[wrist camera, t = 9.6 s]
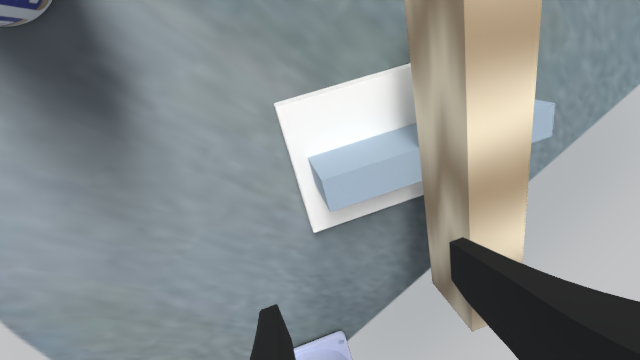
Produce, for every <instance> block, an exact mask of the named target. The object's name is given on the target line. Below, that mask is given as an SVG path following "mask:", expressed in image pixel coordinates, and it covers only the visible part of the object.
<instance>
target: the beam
mask: <svg viewBox="0 0 640 360" xmlns="http://www.w3.org/2000/svg"><path fill="white" fill-rule="evenodd" d="M404 2H405V12H406V22H407V32H408V42H409V52H410V62H411V72H412V82H413V92H414V102H415V112H416V122H417V132H418V142H419V152H420V162H421V172H422V182H423V191H424V201H425V211H426V221H427V231H428V241H429V251H430V261H431V271H432V281H433V284H434V285H435V286H436V288H437V289H438V290H439V291H440V292H441V293H442V295H443V296H444V297H445V299H446V300H447V301H448V302H449V304H450V305H451V306H452V307H453V309H454V310H455V311H456V312H457V313H458V315H459V316H460V317H461V318H462V320H463V321H464V322H465V323H466V325H467V326H468V327H469V328H470V329H471V331H475V330H477V329H480V328H482V327H484V326H487V323H486V322H485V321H484V320H483V319H482V318H481V317H480V316H479V315H478V313H477V312H476V311H475V310H474V309H473V308H472V307H471V306H470V304H469V303H468V302H467V301H466V300H465V298H464V297H463V295H462V294H461V293H460V291H459V290H458V289H457V287H456V286H455V284H454V283H453V281H452V280H451V266H450V246H449V242H451V241H454V240H456V239H459V238H462V237H464V238H466V239H468V240H471V241H473V242H475V243H477V244H479V245H482V246H484V247H486V248H488V249H490V250H492V251H495V252H497V253H499V254H501V255H503V256H506V257H508V258H510V259H512V260H515V261H517V262H519V263H522V260H523V246H524V232H525V220H526V206H527V193H528V180H529V166H530V153H531V140H532V126H533V113H534V100H535V86H536V73H537V60H538V46H539V33H540V20H541V6H542V0H404Z"/></svg>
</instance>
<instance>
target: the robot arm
mask: <svg viewBox="0 0 640 360" xmlns="http://www.w3.org/2000/svg"><path fill="white" fill-rule="evenodd" d="M449 246H450V266H451V280H452V281H453V283H454V284H455V286H456V287H457V289H458V290H459V291H460V293H461V294H462V295H463V297H464V298H465V300H466V301H467V302H468V303H469V304H470V306H471V307H472V308H473V309H474V310H475V311H476V312H477V313H478V315H479V316H480V317H481V318H482V319H483V320H484V321H485V322H486V323H487V325H488V326H489V327H490V328H491V329H492V330H493V331H494V332H495V333H496V334H497V335H498V337H499V338H500V339H501V340H502V341H503V342H504V343H505V344H506V345H507V346H508V348H509V349H510V350H511V351H512V352H513V353H514V354H515V356H516V357H517V358H518V359H519V360H640V302H638V301H634V300H630V299H626V298H623V297H619V296H615V295H611V294H608V293H604V292H601V291H597V290H594V289H590V288H587V287H584V286H581V285H578V284H575V283H572V282H569V281H566V280H563V279H560V278H557V277H555V276H552V275H549V274H547V273H544V272H541V271H539V270H536V269H534V268H531V267H529V266H527V265H524V264H522V263H519V262H517V261H515V260H512V259H510V258H508V257H506V256H503V255H501V254H499V253H497V252H495V251H492V250H490V249H488V248H486V247H484V246H482V245H479V244H477V243H475V242H473V241H471V240H468V239H466V238H464V237H462V238H459V239H456V240H454V241H451V242H449ZM250 360H352V357H351V353H350V350H349V347H348V344H347V340H346V337H345V334H344V332H342V331H338V332H335V333H333V334H330V335H327V336H325V337H322V338H320V339H317V340H315V341H312V342H309V343H307V344H304V345H302V346H299V347H297V348H294V349H293V344H292V340H291V337H290V335H289V332H288V330H287V327H286V325H285V322H284V320H283V318H282V315H281V313H280V310H279V308H278V305H277V304H276V305H273V306H270V307H268V308H265V309H262V310H261V311H260V313H259V319H258V325H257V331H256V336H255V340H254V345H253V349H252V353H251V357H250Z"/></svg>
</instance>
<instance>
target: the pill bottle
mask: <svg viewBox="0 0 640 360" xmlns="http://www.w3.org/2000/svg"><path fill="white" fill-rule="evenodd" d="M51 2H52V0H0V27H7V26H17V25H21V24H24V23H27V22H30V21H32V20H34V19H35V18H37V17H38V16H40V15H41V14H42V13H43V12H44V11H45V10H46V9H47V8H48V7H49V5H50V4H51Z"/></svg>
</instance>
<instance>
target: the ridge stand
mask: <svg viewBox="0 0 640 360" xmlns="http://www.w3.org/2000/svg"><path fill="white" fill-rule="evenodd" d="M274 107H275V111H276V114H277V117H278V120H279V124H280V127H281V130H282V133H283V137H284V140H285V143H286V146H287V150H288V153H289V156H290V159H291V163H292V166H293V169H294V172H295V176H296V179H297V182H298V185H299V189H300V192H301V195H302V198H303V202H304V205H305V208H306V211H307V215H308V218H309V221H310V224H311V227H312V229H313V232H314V233H315V232H318V231H321V230H324V229H327V228H330V227H332V226H335V225H338V224H341V223H344V222H347V221H350V220H353V219H355V218H358V217H361V216H364V215H367V214H370V213H373V212H376V211H378V210H381V209H384V208H387V207H390V206H393V205H396V204H399V203H401V202H404V201H407V200H410V199H413V198H416V197H419V196H421V195H424V191H423V182H422V172H421V162H420V152H419V142H418V132H417V122H416V112H415V102H414V92H413V82H412V72H411V63H409V64H406V65H402V66H399V67H395V68H392V69H389V70H385V71H382V72H379V73H375V74H372V75H368V76H365V77H362V78H358V79H355V80H351V81H348V82H345V83H341V84H338V85H335V86H331V87H328V88H324V89H321V90H318V91H314V92H311V93H307V94H304V95H301V96H297V97H294V98H291V99H287V100H284V101H280V102H277V103H274ZM554 110H555V103H550V102H545V101H540V100H534V113H533V126H532V140H531V143H533V142H536V141H539V140H542V139H545V138H548V137H551V136H552V129H553V120H554Z"/></svg>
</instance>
